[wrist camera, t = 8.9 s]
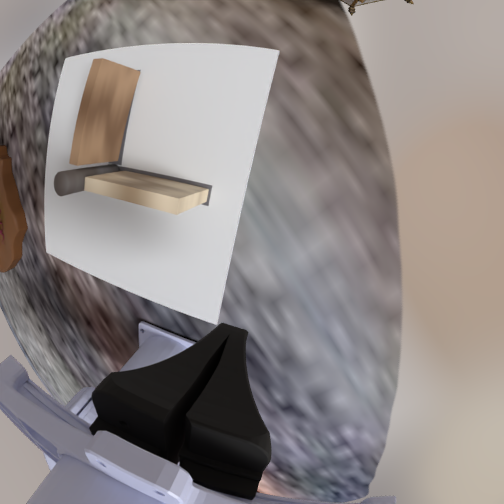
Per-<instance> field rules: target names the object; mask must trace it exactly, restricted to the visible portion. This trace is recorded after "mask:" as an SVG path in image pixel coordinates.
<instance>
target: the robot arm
mask: <svg viewBox="0 0 504 504" xmlns="http://www.w3.org/2000/svg"><path fill="white" fill-rule="evenodd" d="M247 336H248V332H247V330H244V329H241V328H237V327H234V326H231V325H228V324H225V323H221V324H219V325H218V326H217V327H216V328H215V329H214V330H212V331H211V332H210V333H209V334H207V335H206V336H205V337H203V338H202V339H201V340H199V341H198V342H193V341H191V340H188V339H185V338H183V337H180V336H178V335H175V334H173V333H170V332H168V331H165V330H163V329H160V328H158V327H155V326H153V325H151V324H148V323H146V322H143V321H141V322H140V323H139V349H138V350H137V351H136V352H135V353H134V355H133V356H132V357H131V358H130V359H129V360H128V362H127V363H126V364H125V365H124V366H123V367H122V368H121V370H120V371H119V372H112V373H110V374H109V375H108V376H107V377H106V378H105V379H104V380H103V381H102V382H101V383H100V384H99V385H98V386H97V387H96V389H95V388H94V387H84V388H82V389H81V390H80V391H79V392H78V393H77V394H76V395H75V396H74V397H73V398H72V399H71V400H70V401H69V402H68V404H67V405H66V406H65V407H64V406H63V405H62V404H60V403H59V402H58V401H56V400H55V399H54V398H52V397H51V396H50V395H48V394H47V393H46V392H45V391H43V390H42V389H41V388H40V387H38V386H37V385H36V384H35V383H34V382H33V381H31V380H30V379H29V376H28V373H27V371H26V369H25V368H24V367H23V366H22V365H21V364H20V363H19V362H18V361H17V360H16V359H15V358H14V357H13V356H11V355H10V356H9V357H8V358H6V359H5V360H4V361H3V362H2V363H0V409H1V410H2V412H3V413H4V414H5V415H6V416H7V417H8V418H9V419H10V420H11V421H12V422H13V423H14V424H15V425H16V426H17V427H18V428H19V429H20V430H21V431H22V432H23V433H24V434H25V435H26V436H27V437H28V438H29V439H30V440H31V441H32V442H33V443H34V444H35V445H36V446H37V447H38V448H39V449H40V450H42V451H43V454H44V456H45V459H46V462H47V464H48V466H49V469H50V473H49V474H48V475H47V476H46V478H45V479H44V480H43V482H42V483H41V484H40V486H39V487H38V489H37V490H36V491H35V492H34V494H33V495H32V496H31V498H30V499H29V501H28V502H27V503H26V504H396V496H380V497H371V498H367V499H365V500H363V501H362V502H361V503H335V502H319V501H309V500H300V499H292V498H285V497H279V496H273V495H268V494H263V493H258V492H257V489H258V485H259V481H260V480H261V477H262V473H263V471H264V470H265V468H266V467H267V465H268V464H269V462H270V460H271V440H270V433H269V431H268V429H267V428H266V426H265V424H264V422H263V420H262V418H261V416H260V414H259V411H258V409H257V406H256V404H255V401H254V398H253V395H252V392H251V388H250V384H249V379H248V374H247V367H246V339H247Z"/></svg>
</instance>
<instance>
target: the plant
mask: <svg viewBox="0 0 504 504" xmlns="http://www.w3.org/2000/svg"><path fill="white" fill-rule="evenodd" d="M11 161H12V159H11V158H10V157H9V156H8V154H7V148H6V146H5V145H3V146H0V272H6V271H8V270H10V269H12V268H14V267H15V266H16V265H17V263H18V262H19V260H20V259H21V257H22V242H23V239H24V235H25V233H26V231H27V229H28V227H27V223H26V218H25V213H24V210H23V208H22V205H21V202H20V199H19V194H18V189H17V186H16V183H15V180H14V177H13V173H12V165H11Z"/></svg>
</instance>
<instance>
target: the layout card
mask: <svg viewBox="0 0 504 504" xmlns="http://www.w3.org/2000/svg"><path fill="white" fill-rule="evenodd" d="M278 56H279V50H273V49H267V48H259V47H251V46H241V45H228V44H209V43H171V44H152V45H140V46H130V47H122V48H115V49H108V50H102V51H97V52H91V53H86V54H82V55H77V56H73V57H69V58H66V59H65V62H64V65H63V69H62V73H61V76H60V80H59V85H58V89H57V93H56V98H55V103H54V108H53V113H52V119H51V125H50V132H49V140H48V148H47V159H46V172H45V198H44V214H45V240H46V252H47V253H49V254H51V255H53V256H54V257H56V258H58V259H60V260H62V261H64V262H66V263H68V264H70V265H72V266H74V267H76V268H79V269H81V270H83V271H85V272H87V273H89V274H91V275H93V276H96V277H98V278H100V279H102V280H104V281H106V282H109V283H111V284H113V285H115V286H118V287H120V288H122V289H125V290H127V291H129V292H132V293H134V294H137V295H139V296H141V297H144V298H146V299H149V300H151V301H154V302H156V303H159V304H161V305H164V306H166V307H169V308H172V309H174V310H177V311H180V312H182V313H185V314H188V315H190V316H193V317H196V318H199V319H201V320H204V321H207V322H210V323H213V324H216V325H217V323H218V318H219V313H220V308H221V304H222V299H223V294H224V289H225V284H226V279H227V275H228V270H229V265H230V261H231V256H232V251H233V247H234V242H235V237H236V233H237V228H238V224H239V219H240V215H241V210H242V206H243V201H244V197H245V192H246V188H247V184H248V179H249V175H250V171H251V166H252V162H253V158H254V153H255V149H256V145H257V141H258V136H259V132H260V128H261V124H262V120H263V116H264V112H265V108H266V103H267V99H268V95H269V91H270V87H271V83H272V79H273V75H274V72H275V68H276V64H277V60H278ZM99 58H104V59H107V60H110V61H113V62H116V63H118V64H121V65H124V66H127V67H130V68H132V69H135V70H138V71H140V72H141V73H140V76H139V79H138V82H137V85H136V89H135V92H134V95H133V99H132V103H131V106H130V110H129V114H128V118H127V122H126V126H125V130H124V135H123V139H122V144H121V149H120V153H119V159H118V161H114V162H104V163H95V164H87V165H79V166H76V165H73V164H69V161H70V154H71V148H72V142H73V136H74V131H75V126H76V121H77V116H78V112H79V108H80V104H81V100H82V96H83V92H84V88H85V85H86V81H87V78H88V75H89V71H90V68H91V65H92V62H93V59H99ZM110 164H116V165H118V167H119V168H120V171H129V172H134V173H139V174H144V175H149V176H154V177H159V178H163V179H168V180H172V181H177V182H181V183H186V184H190V185H195V186H199V187H203V188H207V189H209V191H208V197H207V202H205V203H202V204H200V205H198V206H196V207H193V208H191V209H189V210H187V211H184V212H182V213H180V214H178V215H175V214H171V213H168V212H164V211H160V210H157V209H153V208H149V207H145V206H142V205H138V204H134V203H130V202H127V201H123V200H119V199H115V198H111V197H108V196H104V195H100V194H96V193H92V192H88V191H81V192H77V193H73V194H69V195H65V196H59V195H57V193H56V192H55V189H54V178H55V175H56V174H57V173H58V172H60V171H66V170H73V169H79V168H86V167H93V166H101V165H110Z"/></svg>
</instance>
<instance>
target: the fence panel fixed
mask: <svg viewBox="0 0 504 504" xmlns="http://www.w3.org/2000/svg"><path fill="white" fill-rule="evenodd" d="M54 189H55V192H56V193H57V195H59V196H65V195H69V194H73V193H77V192H81V191H88V192H92V193H96V194H100V195H104V196H108V197H111V198H115V199H119V200H123V201H127V202H130V203H134V204H138V205H142V206H145V207H149V208H153V209H157V210H160V211H164V212H168V213H171V214H175V215H178V214H180V213H182V212H184V211H187V210H189V209H191V208H193V207H196V206H198V205H200V204H202V203H205V202H207V197H208V191H209V189H207V188H203V187H199V186H195V185H190V184H186V183H181V182H177V181H172V180H168V179H163V178H159V177H154V176H149V175H144V174H139V173H134V172H129V171H120V168H119V167H118V165H116V164H110V165H101V166H93V167H86V168H79V169H73V170H66V171H60V172H58V173H57V174H56V175H55V178H54Z"/></svg>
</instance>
